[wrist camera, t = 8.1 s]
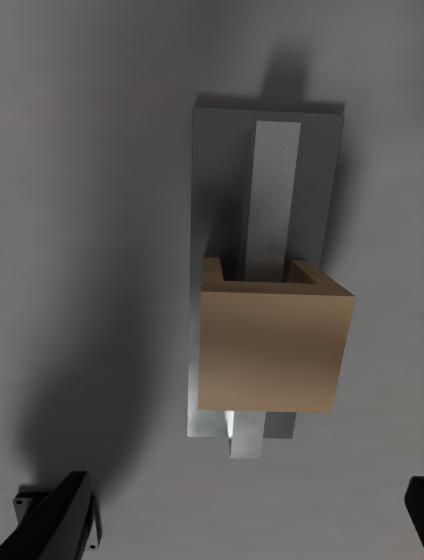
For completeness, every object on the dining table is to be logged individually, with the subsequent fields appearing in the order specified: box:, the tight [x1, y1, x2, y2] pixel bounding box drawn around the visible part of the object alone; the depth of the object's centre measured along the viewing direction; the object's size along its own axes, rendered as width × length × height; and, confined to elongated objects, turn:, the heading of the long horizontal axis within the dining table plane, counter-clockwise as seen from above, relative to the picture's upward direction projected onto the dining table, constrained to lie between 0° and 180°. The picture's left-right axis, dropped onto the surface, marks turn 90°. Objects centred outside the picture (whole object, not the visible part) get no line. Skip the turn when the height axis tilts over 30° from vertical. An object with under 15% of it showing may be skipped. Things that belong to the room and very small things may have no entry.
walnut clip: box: [198, 257, 355, 413], centre depth 16 cm, size 6×6×6 cm
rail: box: [188, 107, 344, 459], centre depth 18 cm, size 22×8×3 cm, turn 178°
